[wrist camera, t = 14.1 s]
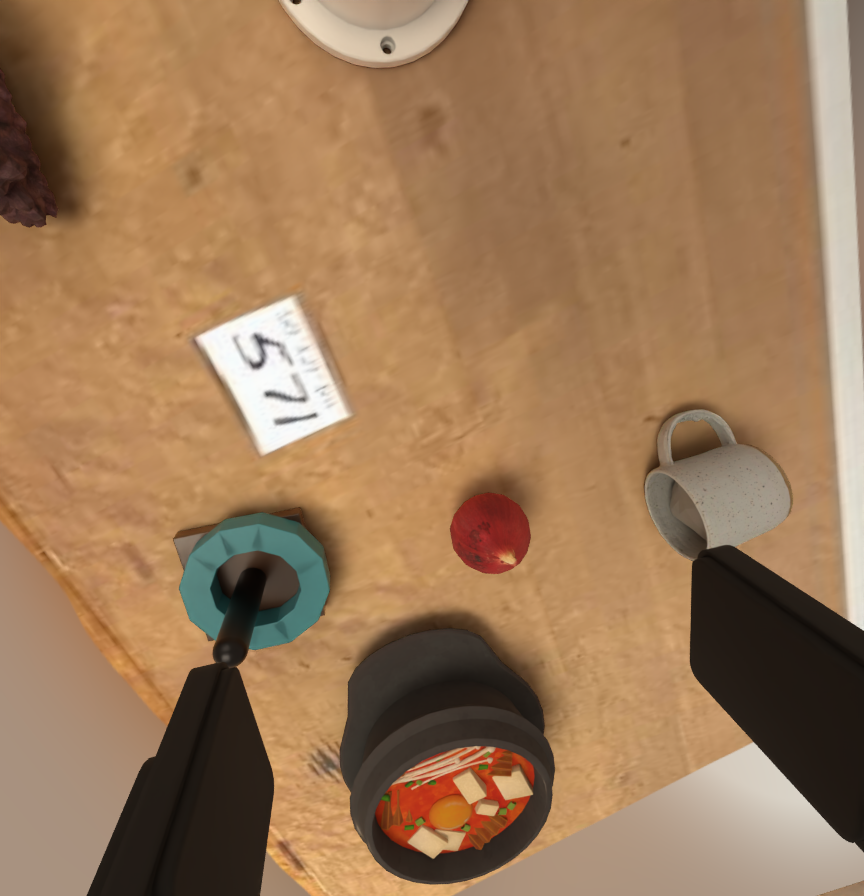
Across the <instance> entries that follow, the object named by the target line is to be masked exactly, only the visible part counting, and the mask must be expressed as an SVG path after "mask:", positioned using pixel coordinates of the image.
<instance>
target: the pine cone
mask: <svg viewBox="0 0 864 896" xmlns="http://www.w3.org/2000/svg"><path fill="white" fill-rule="evenodd" d="M11 100H12V95H11V93H10V92H9V90H8V89H7V87H6V85H5V74H4V73H3V71H2V70H1V69H0V215H1V216H2V217H3V218H4V219H6V220H7V221H8V222H10V223H14V224H15V223H18V222H21V223H22V225H24V226H26V227H32V226H33V225H35V226H36V227H42V226H44V225H46V222H45V221H46V215H51V216H53V217H56V216H57V212H58V209H59V208H58V207H57V206H56V203H55V198H54V195H53V192H52V191H51V190H50V189H49V188H48V185H47V184H48V183H47V180H46V178H45V176H44V175H43V174H42V173H41V172H40V170H39V169H40V166H41V164H40V160H39V157H38V156H37V155H36V153H35V152H34V151H33V150H32V144H31V141H30V139H29V137H28V135H26V134H25V132H26V126H27V123H26V122H25V120H24V119H23V118H22V117H21V115H20V114H18V113H17V112H16V111H15V108H14V106H13V104H12V103H11Z"/></svg>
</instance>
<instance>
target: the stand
mask: <svg viewBox="0 0 864 896" xmlns="http://www.w3.org/2000/svg"><path fill="white" fill-rule="evenodd" d="M270 514H271V515H274V516H278V517H281V518H285V519H288V520H292V521H296V522H299V523H300V524H301V525H302V526H303V527H304V528H305V524H304V520H303V516H302V512H301V508H300V507H299V508H294V509H289V510H284V511H279V512H275V513H270ZM217 525H219V524H215V525H210V526H205V527H200V528H195V529H190V530H185V531H180V532H178V533H177V534H176V536H175V537H174V538H173V541H174V543H175V546H176V549H177V552H178V555H179V558H180V561H181V564H182V566H183V569H184V570H185V567H186V564H187V561H188V558H189V555H190V553H191V552H192V550H193V548H194V546H195V545H196V543H197V542H198V541H199V540H200V539H201V538H203V537H204V536H205V535H206V534H208V533H209V532H210V531H211V530H213V529H214V528H215V527H216V526H217ZM305 529H306V528H305ZM217 577H218V580H219V583H220V587H221V590H222V593H223V594H224V595H226V596H227V597H228V598H229V599H230V603H229V606H228V608H227V611H226V614H225V617H224V620H223V622H222V625H221V628H220V631H219V633H218V636H217V639H216V642H215V645H214V647H213V658H214V661H215V662H216V663H219V662H225V663H226V664H227V665H228V667H229V668H233V667H236V666H238V665H239V664H241V663H242V662H243V661H244V659H245V658H246V656H247V653H248V649H249V646H250V642H251V638H252V634H253V630H254V626H255V623H256V619H257V615H258V611H262V610H267V609H272V608H276V607H281V606H282V605H283V604H284V603H286V602H287V601H288V600H290V599H291V598H292V597H293V596H295V595H296V594H297V591H298V588H299V586H300V583H299V579H298V575H297V571H296V570H295V569H294V568H293V567H291V566H290V565H289V564H288V563H287V562H286V561H285V560H284V559H283V558H282V557H281V556H278V555H274V554H270V553H266V552H262V551H259V550H257V551H252V552H247V553H242V554H237V555H234V556H232V557H231V558H230V559H229V560H227V561H226V562H225V563H224V564H223V565H221V566H220V567H219V569H218V572H217ZM323 615H325V604H324V607H323V609H322V612H321V615H320V616H323ZM206 635H207V638H208V641H213V640H214V639H213V638H211V637H210V636H209V635H208V634H206Z"/></svg>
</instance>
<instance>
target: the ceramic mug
mask: <svg viewBox="0 0 864 896" xmlns="http://www.w3.org/2000/svg"><path fill="white" fill-rule="evenodd" d="M701 419H703V420H704V421H706V422H707V423H709V424H710V425H711V426H712V428H713V429H714V430H715V431H716V433H717V435H718V437H719V439H720V442H721V444H722V447H719V448H715V449H713V450H710V451H707V452H704V453H702V454H699V455H695V456H692V457H688V458H685V459H682V460H679V461H675V462H673V460H672V456H671V436H672V433H673V430H674V429H675V427H676V424H677V423H679V422H683V421H690V420H692V421H699V420H701ZM657 449H658V458H659V462H660V467H658V468H656V469H653V470H652V471H651V472H650V473H649V474H648V475H647V478H646V480H645V498H646V503H647V507H648V510H649V513H650V516H651V518H652V520H653V522H654V524H655V526H656V527H657V529H658V531H659V532H660V534H661V536H662V537H663V538H664V539H665V540H666V541H667V543H668V544H669V545H670V546H671V547H672V548H673V549H674V550H675V551H676V552H678V553H679V554H680V555H682V556H683V557H685V558H687V559H689V560H691V561H694V560H695V559H697V557H698V554H699V552H700V551H702V550H705V549H710V548H714V547H718V546H723V545H731V546H734V547H736V546H738V545H740V544H742V543H744V542H746V541H748V540H750V539H752V538H755V537H757V536H759V535H761V534H764V533H766V532H768V531H770V530H772V529H773V528H775V527H776V526H777V525H779V524H780V523H781V522H783V521H784V520H785V519H786V518H787V517H788V516H789V514H790V512H791V509H792V505H793V495H792V489H791V485H790V482H789V480H788V478H787V476H786V474H785V472H784V470H783V469H782V468H781V466H780V465H779V464H778V463H777V462H776V461H775V460H774V459H773V458H772V457H771V456H770V455H769V454H767V453H766V452H764V451H762V450H761V449H759V448H757V447H754V446H751V445H747V444H737V443H736V441H735V437H734V435H733V432H732V431H731V429H730V427H729V425H728V424H727V423H726V422H725V421H724V420H723V419H722V418H721V417H720V416H718V415H717V414H715V413H713V412H710V411H707V410H702V409H700V410H699V409H697V410H689V411H685V412H682V413H678V414H676V415H674V416H672V417H670V418H669V419H668V420H667V421H666V422H665V423H664V424H663V426H662V428H661V429H660V431H659V434H658V438H657Z"/></svg>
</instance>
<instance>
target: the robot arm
mask: <svg viewBox="0 0 864 896" xmlns="http://www.w3.org/2000/svg"><path fill="white" fill-rule="evenodd" d="M292 1H293V0H279V2H280V4H281V6H282V7H283V9H284V10H285V11H286V13H287V14H288V15H289V17H290V18H291V19H292V21H293V22H294V23H295V24H296V26H297V27H298V28H299V29H300V30H301V31H302V32H303V33H304V34H305V35H306V36H307V37H308V38H309V39H311V40H312V41H313V42H314V43H315V44H316V45H318V46H319V47H321V48H322V49H324V50H325V51H327V52H328V53H330V54H331V55H333V56H334V57H337V58H339V59H342V60H344V61H347V62H349V63H352V64H354V65H360V66H365V67H371V68H387V67H396V66H400V65H403V64H407V63H410V62H413V61H415V60H417V59H419V58H420V57H422V56H424V55H426V54H428V53H430V52H431V51H432V50H433V49H434V48H435V47H436V46H438V45H439V44H440V43H441V42H442V41H443V40H444V39H445V38H446V37H447V36H448V34H449V33H450V32H451V30H452V29H453V28H454V26H455V25H456V24H457V22H458V20H459V18H460V16H461V14H462V12H463V10H464V8H465V7H466V4H467V2H468V0H300V1H301V3H300V4H298V5H296V4H293V3H292ZM384 48H389V49H390V51H391V54H385V53H384V52H383V49H384ZM690 666H691V669H692V672H693V674H694V676H695V677H696V679H697V680H698V681H699V683H700V684H701V685H702V686H703V687H704V688H705V689H706V690H707V691H708V692H709V694H710V695H711V696H712V697H713V698H714V699H715V700H716V701H717V702H718V703H719V704H720V706H721V707H722V708H723V709H724V710H725V711H726V712H727V713H728V714H729V715H730V716H731V718H732V719H733V720H734V721H735V722H736V723H737V724H738V725H739V726H740V727H741V728H742V730H743V731H744V732H745V733H746V734H747V735H748V736H749V737H750V738H751V739H752V741H753V742H754V743H755V744H756V745H757V746H758V747H759V748H760V749H761V750H762V751H763V752H764V754H765V755H766V756H767V757H768V758H769V759H770V760H771V761H772V762H773V763H774V764H775V766H776V767H777V768H778V769H779V770H780V771H781V772H782V773H783V774H784V775H785V777H786V778H787V779H788V780H789V781H790V782H791V783H792V784H793V785H794V786H795V788H796V789H797V790H798V791H799V792H800V793H801V794H802V795H803V796H804V797H805V798H806V799H807V801H808V802H809V803H810V804H811V805H812V806H813V807H814V808H815V809H816V810H817V812H818V813H819V814H820V815H821V816H822V817H823V818H824V819H825V820H826V821H827V822H828V823H829V825H830V826H831V827H832V828H833V829H834V830H835V831H836V832H837V833H838V834H839V835H840V836H841V837H842V838H843V839H845V840H846V841H848V842H852V843H854V842H855V843H856V845H857V846H858V847H859V848H860V849H861V850H862V851H863V852H864V631H863V630H862V629H860V628H858V627H857V626H855V625H854V624H852V623H851V622H849V621H848V620H846V619H845V618H843V617H842V616H840V615H838V614H837V613H835V612H834V611H832V610H831V609H829V608H828V607H826V606H825V605H823V604H822V603H820V602H818V601H817V600H815V599H814V598H812V597H811V596H809V595H808V594H806V593H805V592H803V591H802V590H800V589H798V588H797V587H795V586H794V585H792V584H791V583H789V582H788V581H786V580H785V579H783V578H782V577H780V576H778V575H777V574H775V573H774V572H772V571H771V570H769V569H768V568H766V567H765V566H763V565H762V564H760V563H758V562H757V561H755V560H754V559H752V558H751V557H749V556H748V555H746V554H745V553H743V552H742V551H740V550H738V549H737V548H735V547H734V546H731V545H723V546H718V547H714V548H710V549H705V550H702V551H700V552H699V554H698V557H697V559H695V560H694V561H693V563H692V588H691V633H690ZM273 795H274V778H273V772H272V768H271V765H270V762H269V759H268V756H267V753H266V750H265V747H264V744H263V741H262V738H261V735H260V732H259V729H258V726H257V723H256V720H255V717H254V714H253V711H252V708H251V705H250V702H249V699H248V696H247V693H246V690H245V687H244V684H243V681H242V678H241V675H240V672H239V670H238V668H237V667H233V668H229V667H228V665H227V664H226V663H225V662H219V663H215V664H210V665H206V666H202V667H197V668H193V669H192V670H191V671H190V673H189V674H188V677H187V679H186V682H185V684H184V687H183V689H182V692H181V694H180V697H179V699H178V702H177V704H176V707H175V709H174V712H173V714H172V717H171V719H170V722H169V724H168V727H167V729H166V732H165V734H164V737H163V739H162V742H161V744H160V747H159V749H158V752H157V754H156V756H155V757H152V758H149V759H148V760H147V761H146V762H145V763H144V764H143V766H142V767H141V769H140V771H139V773H138V776H137V778H136V780H135V783H134V785H133V787H132V790H131V792H130V794H129V797H128V799H127V801H126V804H125V806H124V809H123V811H122V813H121V816H120V818H119V820H118V823H117V825H116V828H115V830H114V832H113V835H112V837H111V839H110V842H109V844H108V847H107V849H106V851H105V854H104V856H103V858H102V861H101V863H100V865H99V868H98V870H97V873H96V875H95V877H94V880H93V882H92V884H91V887H90V889H89V892H88V894H87V896H260V891H261V883H262V876H263V869H264V861H265V853H266V847H267V839H268V832H269V825H270V817H271V810H272V802H273ZM818 896H864V881H861V882H858V883H855V884H852V885H849V886H846V887H843V888H839V889H836V890H834V891H830V892H827V893H824V894H821V895H818Z"/></svg>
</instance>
